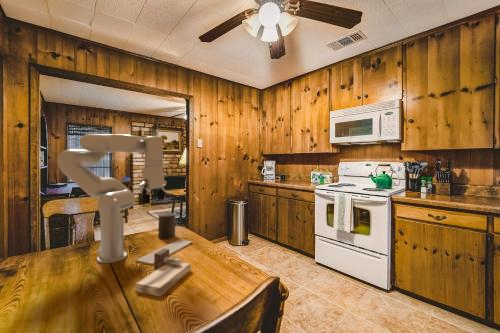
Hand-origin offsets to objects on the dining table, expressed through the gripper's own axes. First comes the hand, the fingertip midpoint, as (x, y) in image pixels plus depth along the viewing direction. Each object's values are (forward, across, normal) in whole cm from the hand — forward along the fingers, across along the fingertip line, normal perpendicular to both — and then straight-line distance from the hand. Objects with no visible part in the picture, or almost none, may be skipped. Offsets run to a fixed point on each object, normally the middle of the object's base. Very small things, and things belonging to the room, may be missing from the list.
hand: (153, 201), depth 108 cm
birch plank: (+28, +12, +15) cm, 34 cm away
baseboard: (+29, -13, -4) cm, 32 cm away
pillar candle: (+28, -33, -17) cm, 47 cm away
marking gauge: (+28, +5, +12) cm, 31 cm away
